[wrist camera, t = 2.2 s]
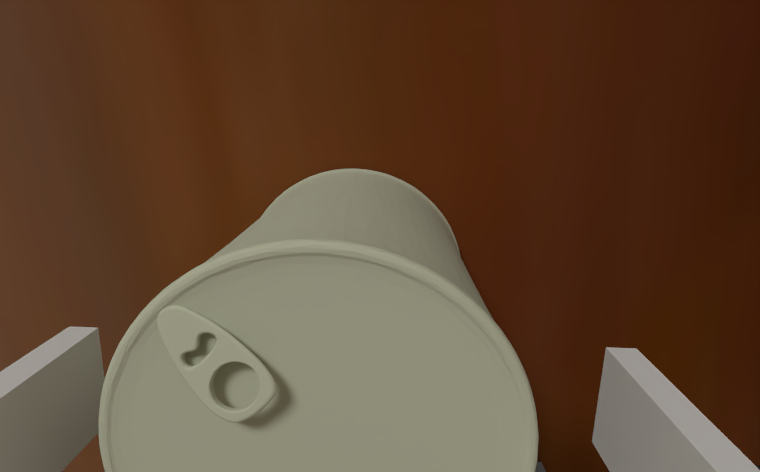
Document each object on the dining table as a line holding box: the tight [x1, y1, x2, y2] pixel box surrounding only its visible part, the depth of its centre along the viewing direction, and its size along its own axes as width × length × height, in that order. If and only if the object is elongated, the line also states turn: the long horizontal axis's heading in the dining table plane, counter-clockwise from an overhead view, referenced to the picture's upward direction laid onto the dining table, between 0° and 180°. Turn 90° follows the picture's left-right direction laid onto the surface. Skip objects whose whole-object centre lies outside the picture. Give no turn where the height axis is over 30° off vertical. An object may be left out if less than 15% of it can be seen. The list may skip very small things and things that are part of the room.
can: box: [98, 169, 539, 472], centre depth 16 cm, size 9×9×12 cm
